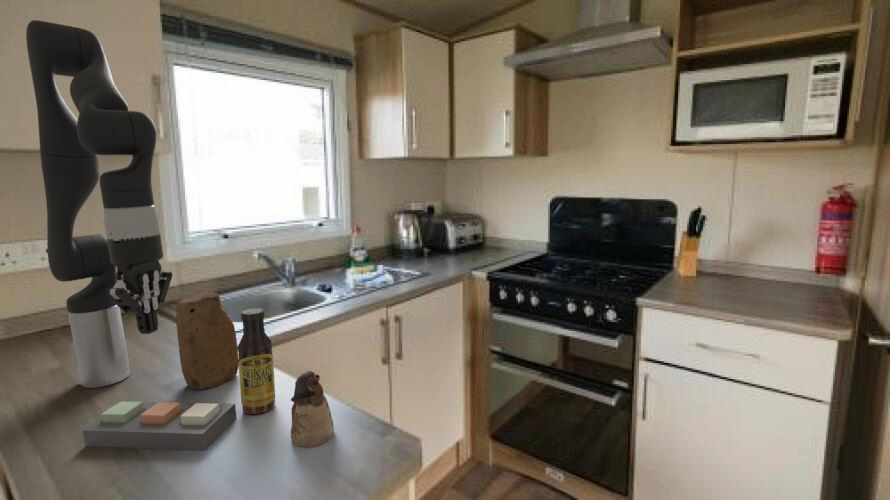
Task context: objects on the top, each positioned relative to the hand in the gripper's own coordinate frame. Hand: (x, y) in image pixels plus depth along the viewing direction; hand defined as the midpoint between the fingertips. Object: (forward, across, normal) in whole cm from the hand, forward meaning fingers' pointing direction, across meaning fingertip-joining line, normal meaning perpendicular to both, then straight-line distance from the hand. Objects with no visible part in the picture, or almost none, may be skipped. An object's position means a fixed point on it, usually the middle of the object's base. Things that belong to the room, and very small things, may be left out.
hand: (149, 332), depth 81 cm
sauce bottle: (+19, -9, +14) cm, 25 cm away
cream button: (+16, 0, +7) cm, 18 cm away
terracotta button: (+17, 0, 0) cm, 17 cm away
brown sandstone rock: (+19, -20, -3) cm, 28 cm away
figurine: (+19, 0, +28) cm, 34 cm away
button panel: (+19, 0, 0) cm, 19 cm away
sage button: (+17, 0, -8) cm, 18 cm away
